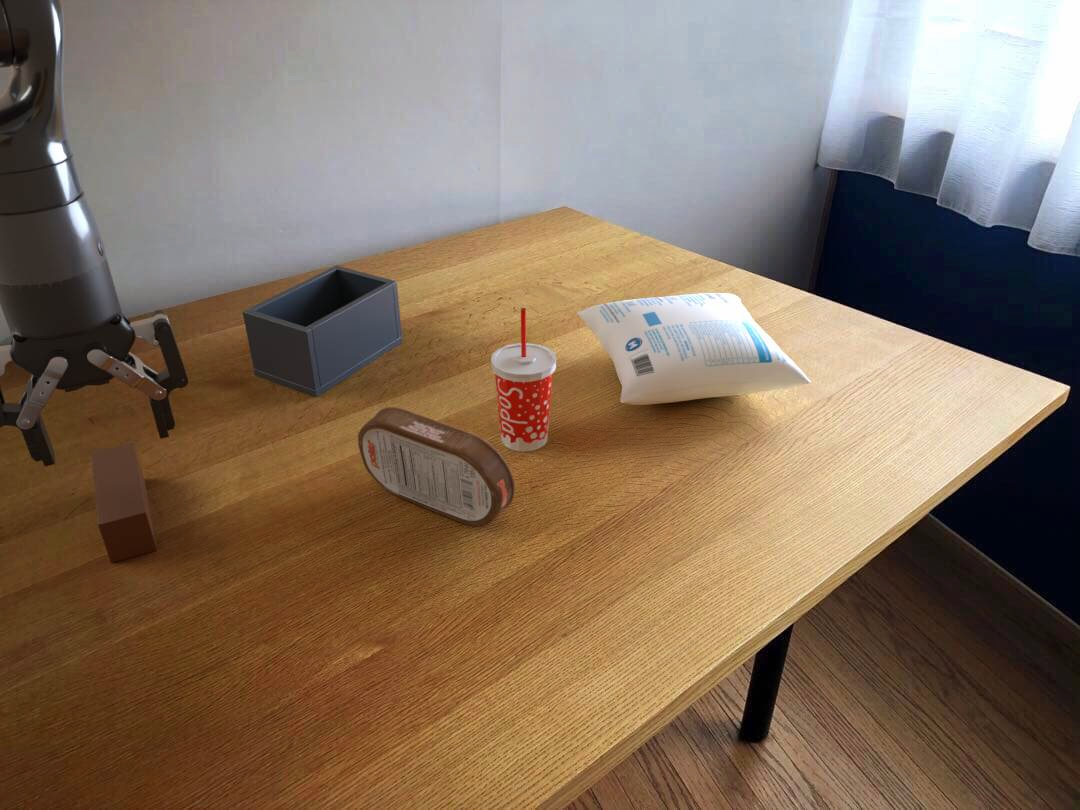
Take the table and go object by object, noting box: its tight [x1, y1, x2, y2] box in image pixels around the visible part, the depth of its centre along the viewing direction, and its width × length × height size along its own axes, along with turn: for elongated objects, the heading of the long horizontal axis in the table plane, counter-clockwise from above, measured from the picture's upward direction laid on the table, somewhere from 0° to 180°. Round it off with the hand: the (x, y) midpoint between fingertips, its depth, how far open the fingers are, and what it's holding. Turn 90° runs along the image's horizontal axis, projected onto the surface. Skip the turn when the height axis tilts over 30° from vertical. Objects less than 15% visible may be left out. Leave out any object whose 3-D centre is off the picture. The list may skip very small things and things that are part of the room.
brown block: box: [90, 442, 158, 564], centre depth 73 cm, size 11×4×4 cm, turn 27°
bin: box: [242, 265, 403, 398], centre depth 96 cm, size 15×9×8 cm, turn 149°
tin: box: [357, 406, 516, 527], centre depth 73 cm, size 15×3×8 cm, turn 59°
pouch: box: [576, 292, 812, 406], centre depth 93 cm, size 8×19×20 cm
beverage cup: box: [490, 307, 557, 452], centre depth 81 cm, size 6×6×14 cm
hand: (107, 446), depth 70 cm, fingers open, 8 cm apart
